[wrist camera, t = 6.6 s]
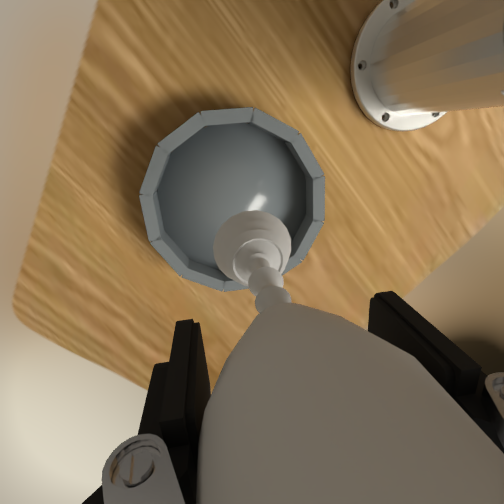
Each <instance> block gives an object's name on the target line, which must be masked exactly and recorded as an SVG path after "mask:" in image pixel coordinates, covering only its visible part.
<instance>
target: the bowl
mask: <svg viewBox="0 0 504 504" xmlns="http://www.w3.org/2000/svg"><path fill="white" fill-rule="evenodd" d="M247 123H248V124H247ZM206 126H208V127H206ZM204 127H205V128H204ZM323 175H324V173H323V171H322V169H321V167H320V166H319V164H318V162H317V160H316V159H315V157H314V155H313V153H312V152H311V150H310V148H309V146H308V145H307V143H306V141H305V140H304V138H303V136H302V134H301V133H299V131H298V130H296V129H294V128H292V127H290V126H288V125H286V124H285V123H283V122H281V121H279V120H277V119H275V118H273V117H272V116H270V115H268V114H266V113H264V112H262V111H261V110H259V109H257V108H253V107H247V108H234V109H221V110H209V111H201V115H200V113H199V112H198V113H197V114H195V115H194V116H193V117H191V118H190V119H189V120H187V121H186V122H185V123H184V124H182V125H181V126H180V127H178V128H177V129H176V130H175V131H173V132H172V133H171V134H169V135H168V136H167V137H165V138H164V139H163V140H162V141H160V142H159V143H158V145H157V146H156V147H155V150H154V153H153V155H152V158H151V161H150V164H149V167H148V169H147V172H146V175H145V178H144V181H143V183H142V186H141V189H140V192H139V193H141V194H140V195H139V197H140V202H141V207H142V211H143V216H144V221H145V225H146V230H147V235H148V239H149V241H151V242H150V244H151V245H152V246H153V247H154V248H155V249H156V250H157V252H158V253H159V254H160V255H161V256H162V257H163V258H164V259H165V260H166V261H167V263H168V264H169V265H170V266H171V267H172V268H173V269H174V270H175V271H176V272H177V274H178V275H179V276H181V275H182V278H185V279H188V280H190V281H193V282H196V283H199V284H202V285H205V286H208V287H210V288H213V289H216V290H219V291H223V289H224V292H226V291H234V290H241V289H248V288H249V287H248V286H244V285H242V284H240V283H238V282H236V281H234V280H232V279H230V278H228V277H227V276H226V275H225V274H224V273H223V272H222V271H221V270H220V269H219V267H218V265H217V263H216V261H215V259H214V252H213V244H214V240H215V235H216V234H217V232H218V230H219V229H220V227H221V225H222V224H223V223H224V222H226V221H227V220H228V219H229V218H230V217H232V216H234V215H236V214H238V213H241V212H243V211H253V210H258V211H263V212H267V213H270V214H271V215H273V216H275V217H276V218H278V219H280V221H281V222H282V223H283V224H284V225H285V227H286V228H287V230H288V233H289V235H290V238H291V253H290V256H289V260H288V262H287V265H286V267H285V270H284V271H283V273H282V274H281V275H283V274H285V273H286V272H288V271H289V270H291V269H292V268H294V267H295V266H297V265H298V264H300V263H301V262H302V261H301V260H304V258H305V256H306V255H307V253H308V251H309V249H310V247H311V246H312V244H313V242H314V240H315V238H316V236H317V235H318V233H319V231H320V229H321V227H322V226H323V224H324V223H323V222H322V221H324V217H325V176H323ZM300 259H301V260H300Z"/></svg>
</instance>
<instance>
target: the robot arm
mask: <svg viewBox="0 0 504 504" xmlns="http://www.w3.org/2000/svg"><path fill="white" fill-rule="evenodd" d="M390 5H391V7H390ZM358 65H360V70H359V68H358ZM350 73H351V84H352V88H353V92H354V96H355V98H356V101H357V103H358V105H359V107H360V109H361V110H362V111H363V113H364V114H365V115H366V117H368V118H369V119H370V120H371V121H372V122H373V123H375V124H376V125H378V126H380V127H382V128H384V129H388V130H392V131H412V130H417V129H420V128H423V127H426V126H428V125H430V124H432V123H433V122H435V121H437V120H438V119H439V118H441V117H442V116H443V115H444V114H446V113H447V111H458V110H468V109H479V108H489V107H500V106H504V0H383V1H382V2H380V3H379V4H378V5H377V6H376V7H375V8H374V10H373V11H372V12H371V13H370V14H369V16H368V17H367V19H366V20H365V22H364V24H363V25H362V27H361V29H360V31H359V34H358V36H357V39H356V41H355V44H354V48H353V53H352V57H351V70H350ZM382 116H383V119H382ZM368 332H370V333H372V334H374V335H376V336H377V337H379V338H381V339H383V340H385V341H387V342H388V343H390V344H392V345H394V346H396V347H398V348H399V349H401V350H403V351H405V352H407V353H408V354H410V355H412V356H414V357H415V358H416V359H417V360H418V361H419V362H420V363H421V365H422V366H423V367H424V368H425V369H426V370H427V371H428V372H429V373H430V374H431V375H432V376H433V378H434V379H435V380H436V381H437V382H438V383H439V384H440V385H441V386H442V387H443V388H444V390H445V391H446V392H447V393H448V394H449V395H450V396H451V397H452V398H453V399H454V400H455V401H456V403H457V404H458V405H459V406H460V407H461V408H462V409H463V410H464V411H465V412H466V413H467V414H468V416H469V417H470V418H471V419H472V420H473V421H474V422H475V423H476V424H477V425H478V426H479V427H480V429H481V430H482V431H483V432H484V433H485V434H486V435H487V436H488V437H489V438H490V439H491V441H492V442H493V443H494V444H495V445H496V446H497V447H498V448H499V449H500V450H501V451H502V452H503V454H504V373H494V374H491V375H489V376H487V375H486V374H484V373H483V372H482V371H481V368H482V367H481V366H480V365H478V364H477V363H476V362H475V361H474V360H473V359H472V358H470V357H469V356H468V355H467V354H466V353H465V352H463V351H462V350H461V349H460V348H459V347H458V346H456V345H455V344H454V343H453V342H452V341H451V340H449V339H448V338H447V337H446V336H445V335H444V334H442V333H441V332H440V331H439V330H437V328H435V327H434V326H433V325H432V324H431V323H429V322H428V321H427V320H426V319H425V318H424V317H422V316H421V315H420V314H419V313H418V312H417V311H415V310H414V309H413V308H412V307H411V306H410V305H408V304H407V303H406V302H405V301H404V300H403V299H402V298H400V297H399V296H398V295H397V294H396V293H395V292H393V291H387V292H380V293H376V294H375V295H374V297H373V298H371V300H370V308H369V322H368ZM210 396H211V391H210V381H209V375H208V369H207V363H206V358H205V352H204V346H203V340H202V334H201V328H200V323H199V322H198V323H194V321H193V319H189V320H182V321H177V322H176V326H175V331H174V337H173V343H172V349H171V355H170V360H169V362H164V363H158V364H155V365H154V368H153V372H152V376H151V380H150V384H149V389H148V393H147V397H146V402H145V406H144V410H143V414H142V419H141V423H140V427H139V431H138V435H137V436H134V437H131V438H129V439H128V440H126V441H124V442H123V443H121V444H120V445H119V446H118V447H117V448H116V449H115V450H114V451H113V452H112V453H111V455H110V456H109V458H108V459H107V461H106V463H105V466H104V468H103V471H102V485H101V486H100V487H99V488H98V489H97V490H96V491H95V492H94V493H93V494H92V495H91V496H89V497H88V498H87V499H86V500H85V501H84V502H83V503H82V504H196V494H197V465H198V443H199V435H200V430H201V425H202V421H203V416H204V411H205V408H206V406H207V403H208V401H209V399H210Z"/></svg>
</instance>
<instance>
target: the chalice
mask: <svg viewBox="0 0 504 504" xmlns="http://www.w3.org/2000/svg"><path fill="white" fill-rule="evenodd" d="M213 252H214V259H215V261H216V263H217V265H218V267H219V269H220V270H221V271H222V272H223V273H224V274H225V275H226V276H227V277H228V278H230V279H232V280H234V281H236V282H238V283H240V284H242V285H244V286H248V287H249V289H250V291H251V292H252V293H253V294H254V295H255V296H256V300H255V306H256V309H257V311H258V312H259V313H260V314H258V315H257V316H256V318H255V319H254V320H253V322H252V323H251V325H250V326H249V328H248V329H247V330H246V332H245V333H244V335H243V336H242V338H241V339H240V340H239V342H238V343H237V345H236V346H235V348H234V349H233V351H232V352H231V354H230V355H229V357H228V358H227V359H226V361H225V364H224V366H223V368H222V371H221V373H220V375H219V378H218V380H217V382H216V385H215V387H214V389H213V392H212V394H211V396H210V399H209V401H208V403H207V406H206V408H205V411H204V416H203V421H202V425H201V430H200V435H199V443H198V465H197V494H196V504H504V454H503V452H502V451H501V450H500V449H499V448H498V447H497V446H496V445H495V444H494V443H493V442H492V441H491V439H490V438H489V437H488V436H487V435H486V434H485V433H484V432H483V431H482V430H481V429H480V427H479V426H478V425H477V424H476V423H475V422H474V421H473V420H472V419H471V418H470V417H469V416H468V414H467V413H466V412H465V411H464V410H463V409H462V408H461V407H460V406H459V405H458V404H457V403H456V401H455V400H454V399H453V398H452V397H451V396H450V395H449V394H448V393H447V392H446V391H445V390H444V388H443V387H442V386H441V385H440V384H439V383H438V382H437V381H436V380H435V379H434V378H433V376H432V375H431V374H430V373H429V372H428V371H427V370H426V369H425V368H424V367H423V366H422V365H421V363H420V362H419V361H418V360H417V359H416V358H415V357H414V356H412V355H410V354H408V353H407V352H405V351H403V350H401V349H399V348H398V347H396V346H394V345H392V344H390V343H388V342H387V341H385V340H383V339H381V338H379V337H377V336H376V335H374V334H372V333H370V332H368V331H366V330H365V329H363V328H361V327H359V326H357V325H355V324H354V323H352V322H350V321H348V320H346V319H344V318H343V317H341V316H338V315H335V314H331V313H328V312H325V311H321V310H318V309H315V308H311V307H308V306H304V305H301V304H295V303H291V297H290V294H289V293H288V292H287V291H286V290H285V289H284V288H282V287H283V277H282V275H281V274H282V273H283V271H284V270H285V267H286V265H287V262H288V260H289V256H290V253H291V238H290V235H289V233H288V230H287V228H286V227H285V225H284V224H283V223H282V222H281V221H280V219H278V218H276V217H275V216H273V215H271V214H270V213H267V212H263V211H258V210H253V211H243V212H241V213H238V214H236V215H234V216H232V217H230V218H229V219H228V220H227V221H226V222H224V223H223V224H222V225H221V227H220V229H219V230H218V232H217V234H216V235H215V240H214V244H213Z"/></svg>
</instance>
